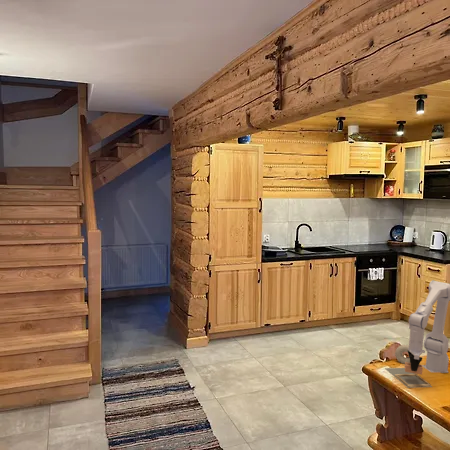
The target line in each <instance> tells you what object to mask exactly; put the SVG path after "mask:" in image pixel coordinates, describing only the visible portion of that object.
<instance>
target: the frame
mask: <svg viewBox="0 0 450 450" xmlns="http://www.w3.org/2000/svg"><path fill="white" fill-rule="evenodd" d="M403 376H416V377H417V378H419V379H420V380H421V381H423V382H424V383H425V384H414V385H409V384H407V383H406V382H405V381H404V380H403V379H401V378H400V377H403ZM395 377H396V378H395ZM395 377H394V378H395V379H397V378H398V379H399V380H400V381H401V382H403V383H404V384H405V385H406V386H407V387H419V388H430V387H429V386H432V385H431V384H430V383H429V382H428V381H426V380H425V379H424V378H423V377H421V376H420V374H395ZM398 379H397V380H398ZM399 380H398V381H399ZM400 381H399V382H400ZM401 382H400V383H401ZM403 383H402V384H403ZM404 384H403V385H404ZM405 385H404V386H405ZM406 386H405V387H406ZM407 387H406V388H407Z"/></svg>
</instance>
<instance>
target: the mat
mask: <svg viewBox="0 0 450 450" xmlns="http://www.w3.org/2000/svg"><path fill="white" fill-rule="evenodd" d="M384 370H386V371H387V372H388V373H389V374H390V375H392V377H394V378H395V379H397V380H398V381H399V382H400V383H401V384H402V385H404V386H405V387H406V388H407V389H409V388H410V389H413V388H415V389H416V388H419V389H420V387H407V386H406V385H405V384H404V383H403V382H401V381H400V380H399V379H398V378H396V377H395V374H415V373H410V372H405V367H391V368H386V367H385V368H384ZM400 378H401V379H403V380H404V381H405V382H406V383H407V384H409V385H414V384H425V383H424V382H423V381H421V380H420V379H419V378H417V377H416V376H403V377H400ZM428 388H433V386H432V385H431V386H429V387H428Z"/></svg>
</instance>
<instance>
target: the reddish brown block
mask: <svg viewBox="0 0 450 450" xmlns="http://www.w3.org/2000/svg"><path fill="white" fill-rule="evenodd" d="M404 368H405V372H410V373H415V374H417V375H423V368H424V367H423V366H422V364H421V363H420V364H419V366H418V369H417V371H412V370H411V363H408V362H405V364H404Z"/></svg>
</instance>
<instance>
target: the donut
mask: <svg viewBox="0 0 450 450" xmlns="http://www.w3.org/2000/svg"><path fill="white" fill-rule="evenodd" d="M408 348H409V344H402V345H399V346H397V348H396V349H395V358H396V360H397V361H398V362H399V363H400V364H403V365H405V362H408V363H410V358H409V356H408V357H405V356H404V355H403V354H404V353H405V352H406V353H408Z"/></svg>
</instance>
